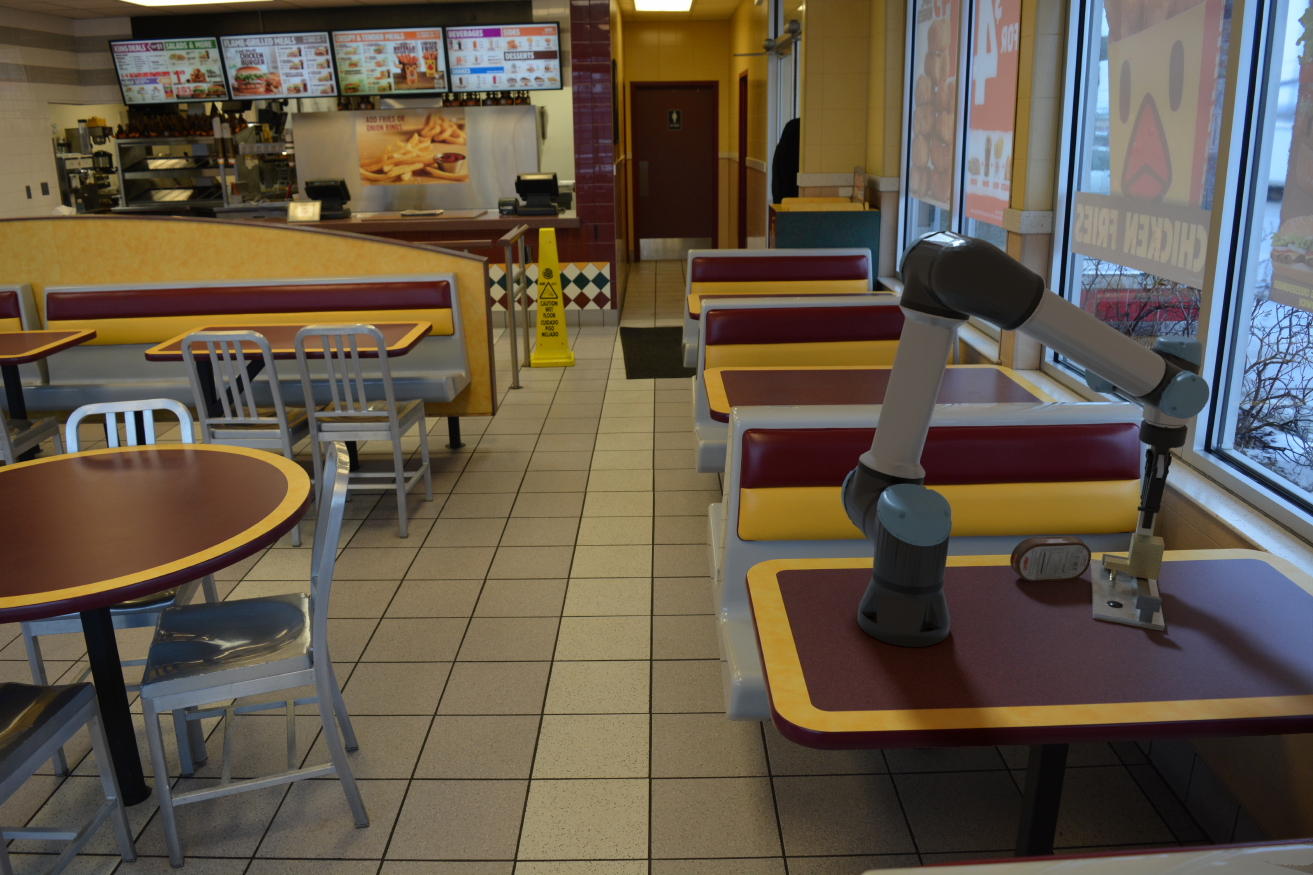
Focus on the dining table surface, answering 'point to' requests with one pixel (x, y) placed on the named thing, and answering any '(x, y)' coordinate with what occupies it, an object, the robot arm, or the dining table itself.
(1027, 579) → the tin
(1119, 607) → the bolt plate
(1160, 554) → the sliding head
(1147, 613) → the grey slide rail base
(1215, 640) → the dining table surface
